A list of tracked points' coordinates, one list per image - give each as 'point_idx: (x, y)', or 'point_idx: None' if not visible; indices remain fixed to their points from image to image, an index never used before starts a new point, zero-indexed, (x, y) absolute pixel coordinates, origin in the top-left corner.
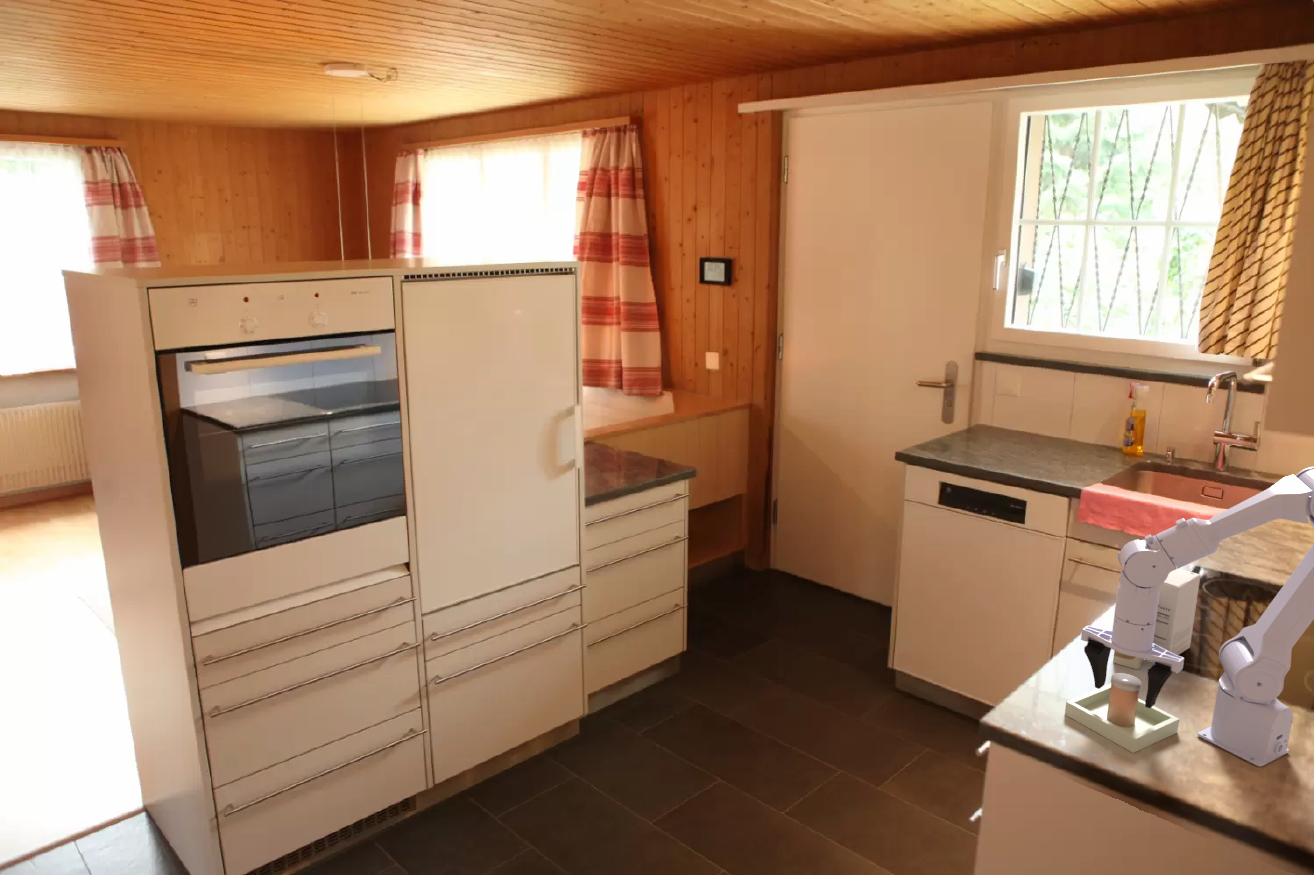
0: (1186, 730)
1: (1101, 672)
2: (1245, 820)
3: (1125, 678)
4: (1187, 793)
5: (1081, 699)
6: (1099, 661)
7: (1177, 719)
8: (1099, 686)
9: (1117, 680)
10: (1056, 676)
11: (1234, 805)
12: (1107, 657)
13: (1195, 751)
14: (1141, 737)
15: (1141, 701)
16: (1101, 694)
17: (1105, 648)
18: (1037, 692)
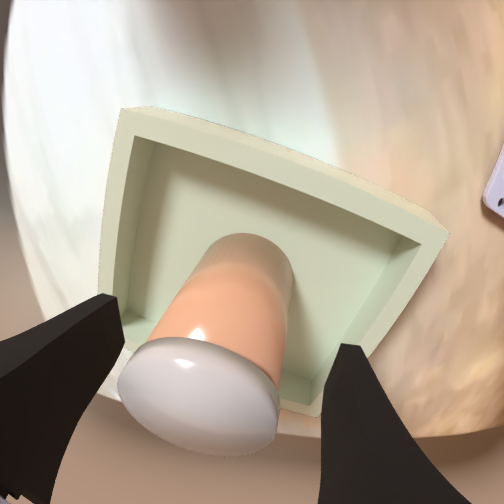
0: (451, 175)
1: (79, 382)
2: (486, 426)
3: (182, 407)
4: (420, 428)
5: None
6: (55, 460)
7: (442, 243)
8: (119, 350)
9: (166, 431)
10: (20, 114)
11: (486, 410)
12: (20, 392)
13: (468, 290)
14: None
15: (283, 171)
16: (131, 191)
17: (2, 475)
18: (34, 239)
